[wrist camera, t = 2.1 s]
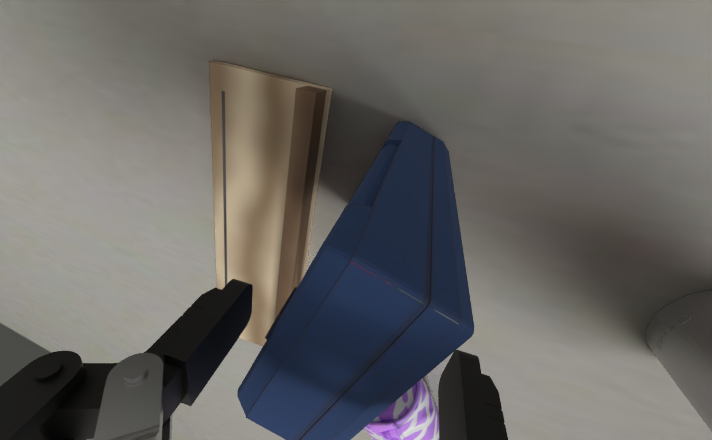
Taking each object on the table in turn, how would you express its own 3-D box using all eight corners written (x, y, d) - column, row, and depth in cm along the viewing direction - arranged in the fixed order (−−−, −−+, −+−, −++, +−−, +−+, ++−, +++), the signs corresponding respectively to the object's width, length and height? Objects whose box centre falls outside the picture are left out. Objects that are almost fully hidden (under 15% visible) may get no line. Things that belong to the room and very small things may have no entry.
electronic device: (393, 231, 30) (335, 470, 12) (347, 204, 30) (223, 407, 12) (454, 148, 25) (497, 343, 8) (400, 115, 25) (320, 239, 8)
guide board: (332, 88, 25) (315, 93, 22) (294, 345, 41) (281, 372, 37) (220, 61, 26) (187, 61, 23) (225, 322, 42) (206, 346, 38)
